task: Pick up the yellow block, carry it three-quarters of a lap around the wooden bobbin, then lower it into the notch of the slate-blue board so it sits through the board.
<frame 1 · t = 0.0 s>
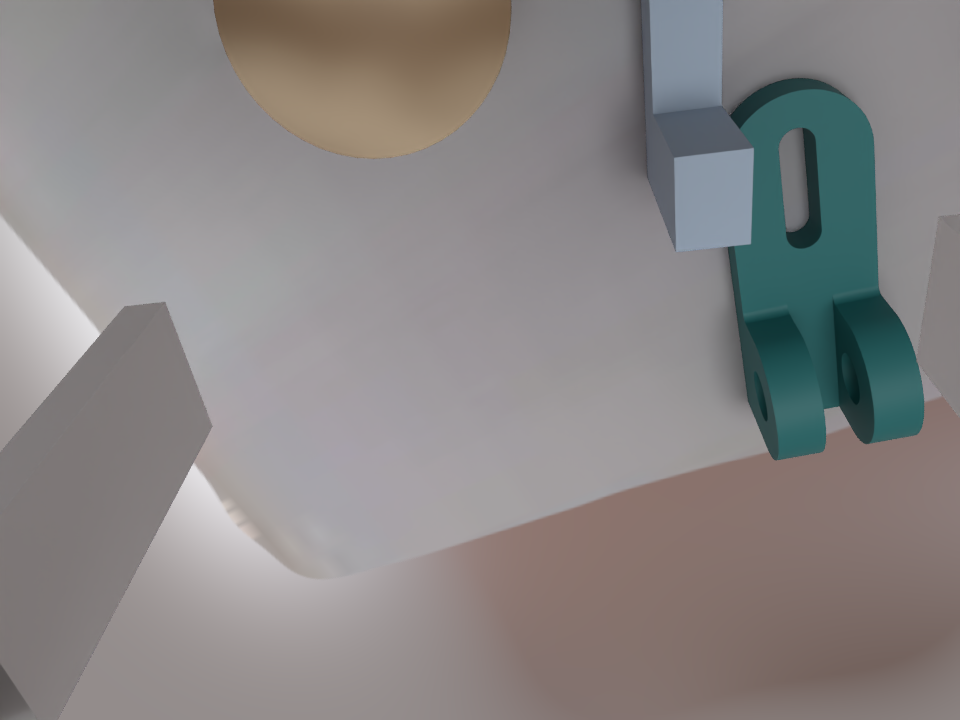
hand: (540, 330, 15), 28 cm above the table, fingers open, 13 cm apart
bracket: (793, 247, 44), on the table
notch board: (675, 26, 38), on the table
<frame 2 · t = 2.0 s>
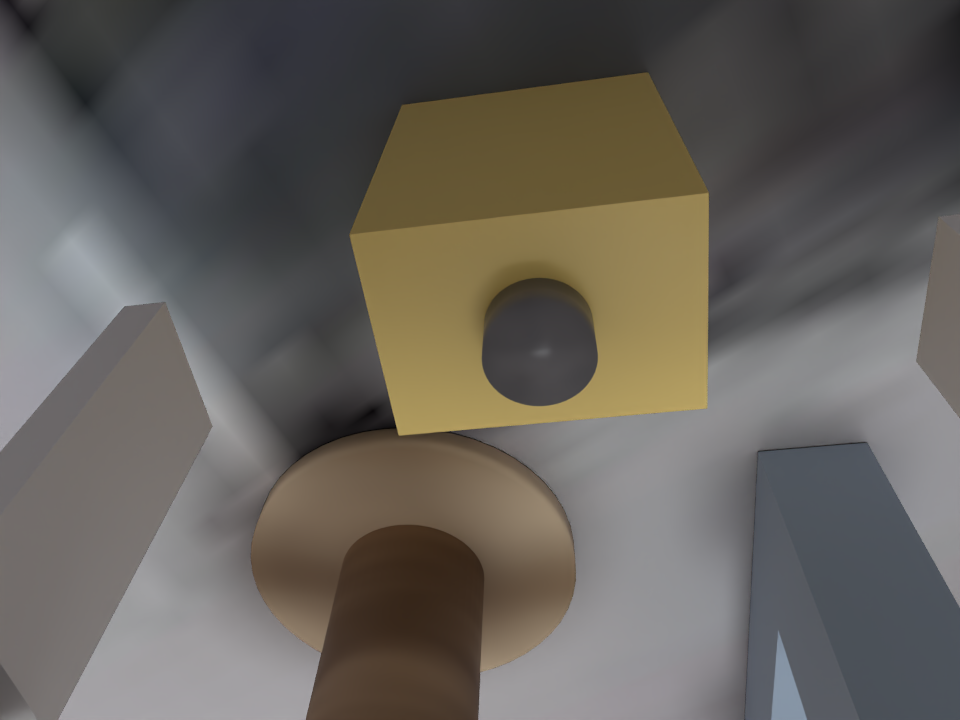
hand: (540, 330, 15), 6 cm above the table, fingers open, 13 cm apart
bobbin: (416, 552, 27), on the table
yellow block: (532, 174, 20), on the table
notch board: (796, 612, 27), on the table
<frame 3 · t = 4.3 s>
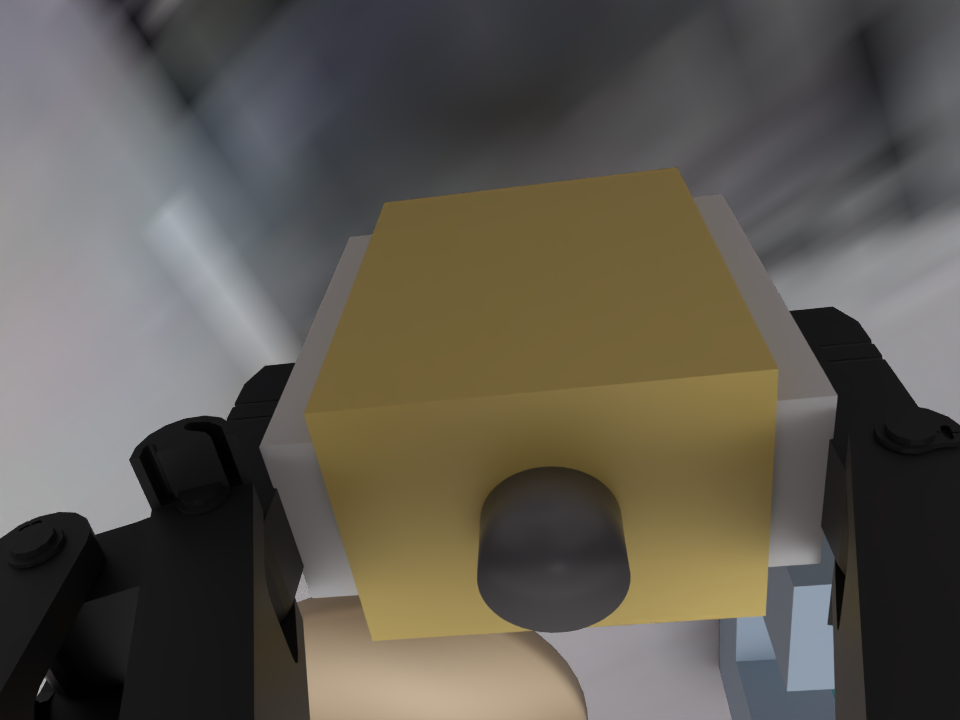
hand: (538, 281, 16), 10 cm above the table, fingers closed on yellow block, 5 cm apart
bobbin: (436, 486, 31), on the table
yellow block: (539, 281, 17), point 9 cm above the table, touching gripper
notch board: (759, 542, 32), on the table
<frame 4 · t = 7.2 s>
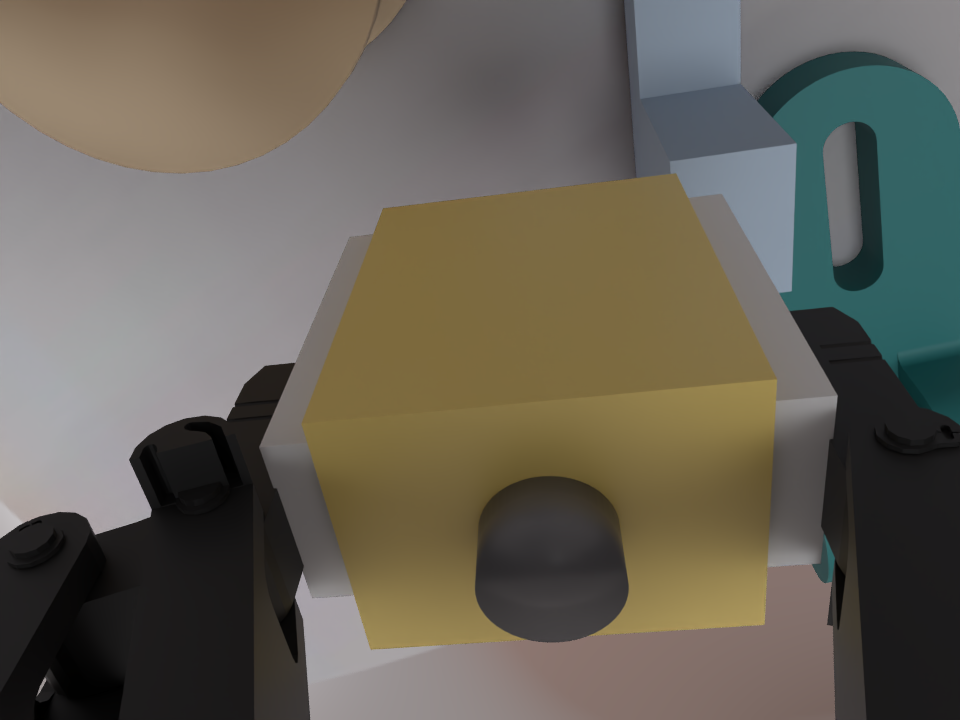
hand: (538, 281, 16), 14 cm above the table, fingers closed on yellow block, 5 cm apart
bracket: (840, 287, 32), on the table
yellow block: (537, 286, 17), point 14 cm above the table, touching gripper
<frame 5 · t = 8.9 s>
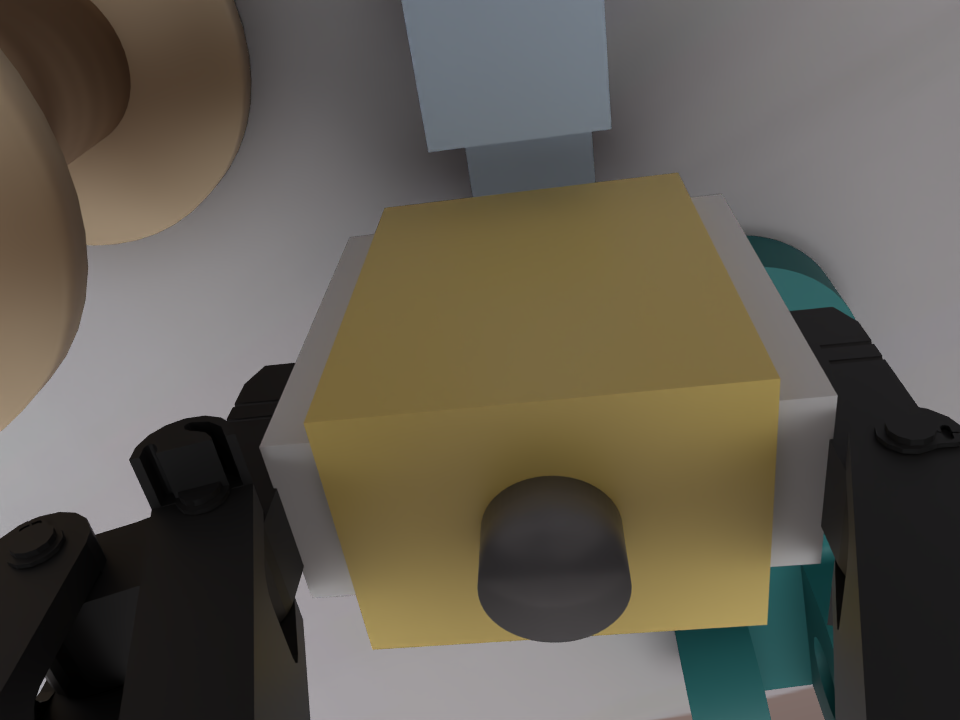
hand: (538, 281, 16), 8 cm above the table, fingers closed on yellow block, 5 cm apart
bobbin: (61, 55, 22), on the table
bracket: (741, 466, 29), on the table
yellow block: (539, 286, 17), point 8 cm above the table, touching gripper
notch board: (531, 146, 23), on the table
when the fingers open (3 cm above the table, at t = 10.4 s): yellow block stays where it is, resting on notch board.
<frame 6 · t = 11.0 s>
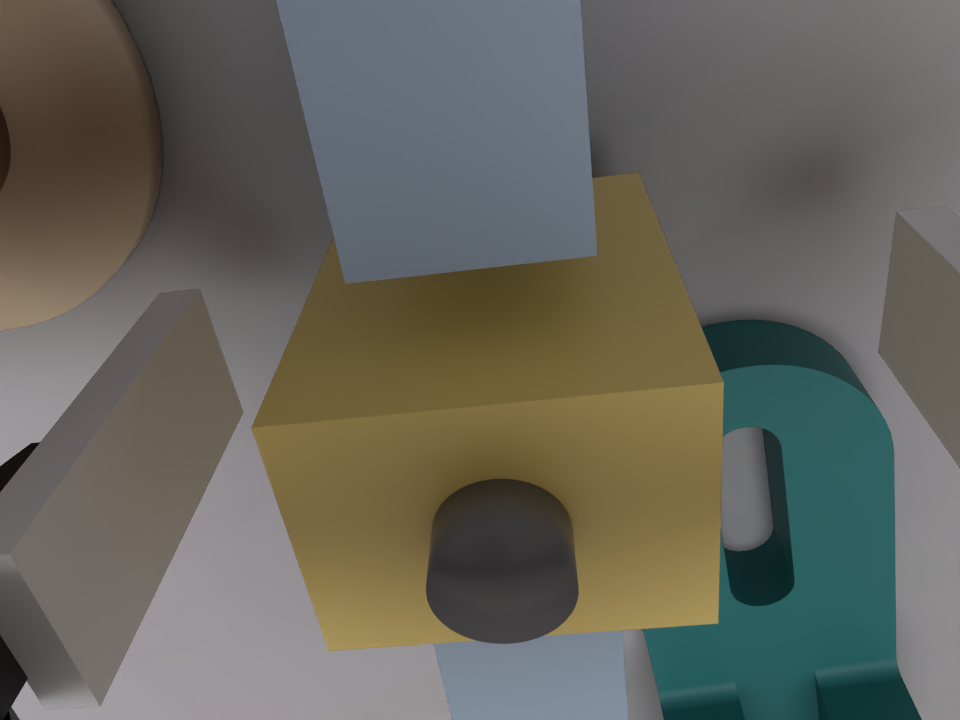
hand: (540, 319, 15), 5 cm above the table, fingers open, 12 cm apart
bracket: (747, 567, 25), on the table
yellow block: (502, 285, 17), point 3 cm above the table, touching notch board
notch board: (501, 215, 19), on the table
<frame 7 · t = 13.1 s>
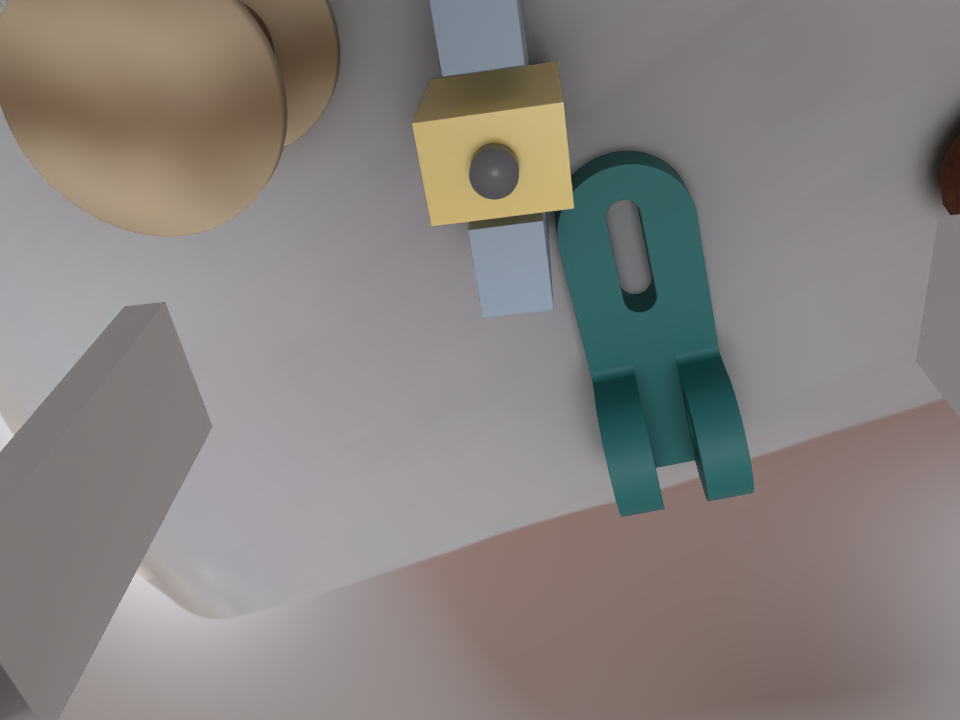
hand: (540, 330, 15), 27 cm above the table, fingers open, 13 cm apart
bobbin: (232, 44, 39), on the table
bracket: (641, 308, 45), on the table
yellow block: (499, 116, 37), point 3 cm above the table, touching notch board
notch board: (500, 94, 39), on the table
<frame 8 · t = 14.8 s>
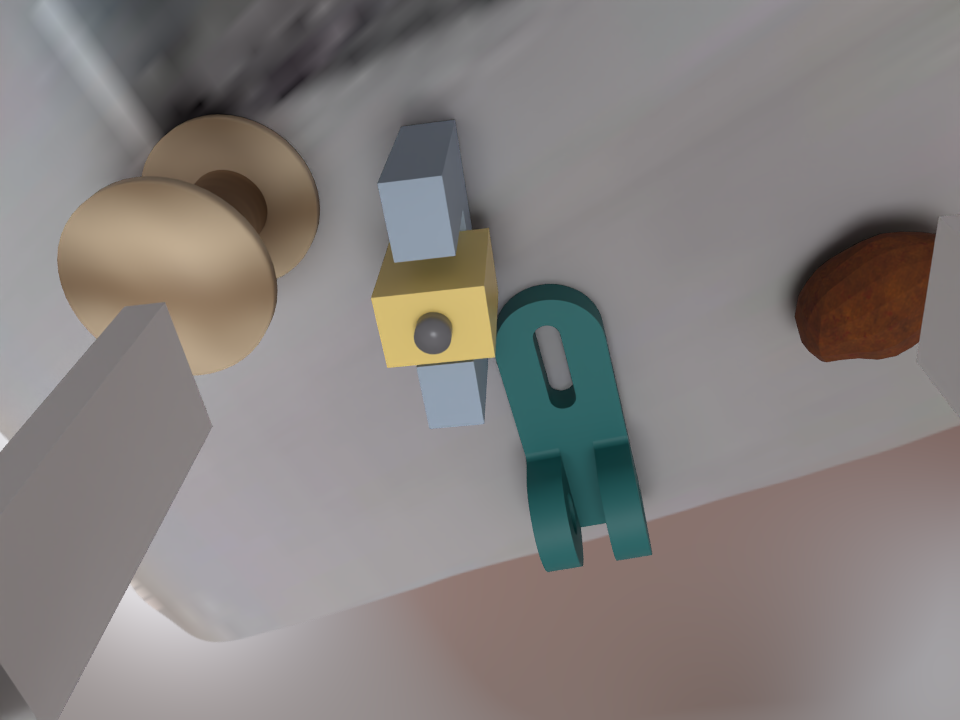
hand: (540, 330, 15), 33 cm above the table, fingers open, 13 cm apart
bobbin: (234, 200, 48), on the table
bracket: (567, 400, 55), on the table
yellow block: (445, 266, 47), point 3 cm above the table, touching notch board
potato: (860, 270, 49), on the table
notch board: (448, 240, 49), on the table
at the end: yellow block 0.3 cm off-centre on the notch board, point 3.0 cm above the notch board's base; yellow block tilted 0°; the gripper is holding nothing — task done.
